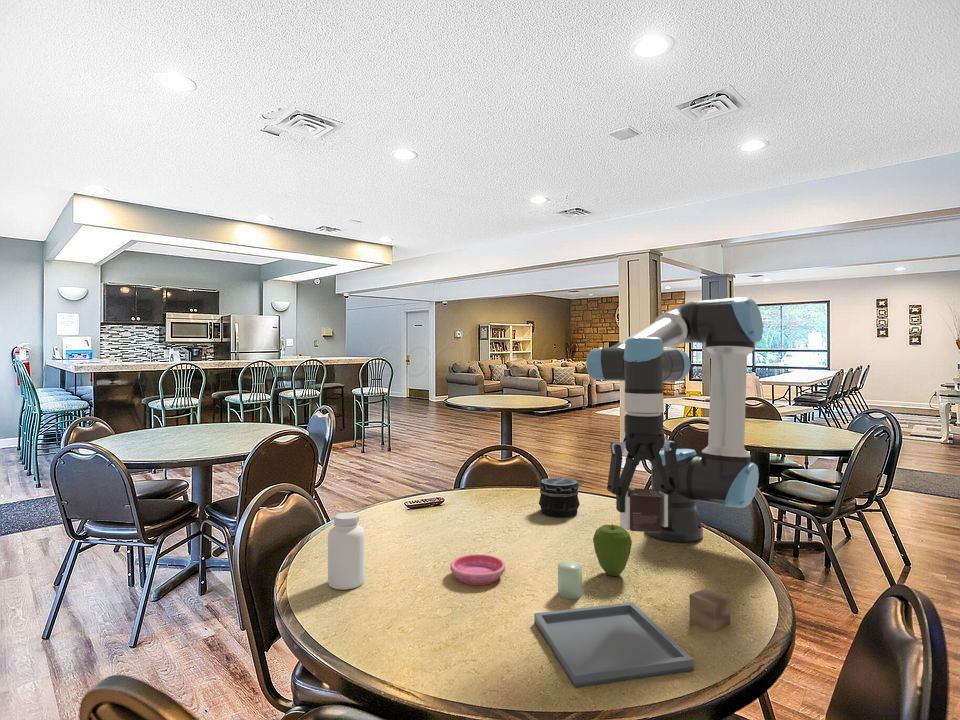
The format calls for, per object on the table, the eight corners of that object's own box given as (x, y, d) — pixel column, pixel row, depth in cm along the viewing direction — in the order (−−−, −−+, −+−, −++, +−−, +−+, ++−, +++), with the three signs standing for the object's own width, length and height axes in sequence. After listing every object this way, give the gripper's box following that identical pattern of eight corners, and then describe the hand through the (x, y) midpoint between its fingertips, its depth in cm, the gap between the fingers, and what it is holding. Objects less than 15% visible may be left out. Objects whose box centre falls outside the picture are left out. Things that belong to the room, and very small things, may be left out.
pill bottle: (371, 578, 122) (371, 511, 121) (352, 593, 114) (351, 522, 114) (341, 573, 124) (340, 508, 124) (320, 588, 117) (319, 519, 116)
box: (661, 533, 106) (661, 496, 105) (629, 531, 107) (629, 494, 107) (657, 524, 112) (657, 488, 111) (627, 522, 113) (627, 487, 113)
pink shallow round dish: (478, 562, 131) (478, 549, 131) (516, 577, 122) (516, 563, 122) (439, 577, 122) (439, 563, 122) (477, 594, 113) (477, 579, 113)
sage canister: (576, 587, 116) (576, 559, 116) (585, 598, 111) (585, 569, 111) (554, 589, 115) (554, 562, 115) (562, 600, 110) (562, 571, 110)
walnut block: (706, 613, 104) (706, 588, 104) (730, 624, 100) (730, 598, 100) (689, 620, 101) (689, 594, 101) (713, 632, 97) (713, 604, 97)
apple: (585, 570, 125) (585, 521, 125) (615, 564, 128) (615, 516, 128) (609, 585, 117) (608, 532, 117) (640, 578, 120) (639, 527, 120)
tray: (632, 611, 105) (632, 602, 105) (693, 670, 85) (693, 659, 85) (534, 622, 101) (534, 613, 101) (574, 687, 81) (574, 675, 81)
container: (539, 506, 178) (539, 476, 178) (578, 507, 176) (578, 477, 176) (538, 517, 165) (537, 485, 165) (580, 519, 163) (580, 486, 163)
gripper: (678, 410, 115) (679, 517, 115) (588, 413, 110) (589, 524, 111) (700, 414, 107) (700, 528, 108) (604, 417, 103) (604, 536, 103)
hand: (643, 526), depth 109 cm, fingers closed on box, 8 cm apart
